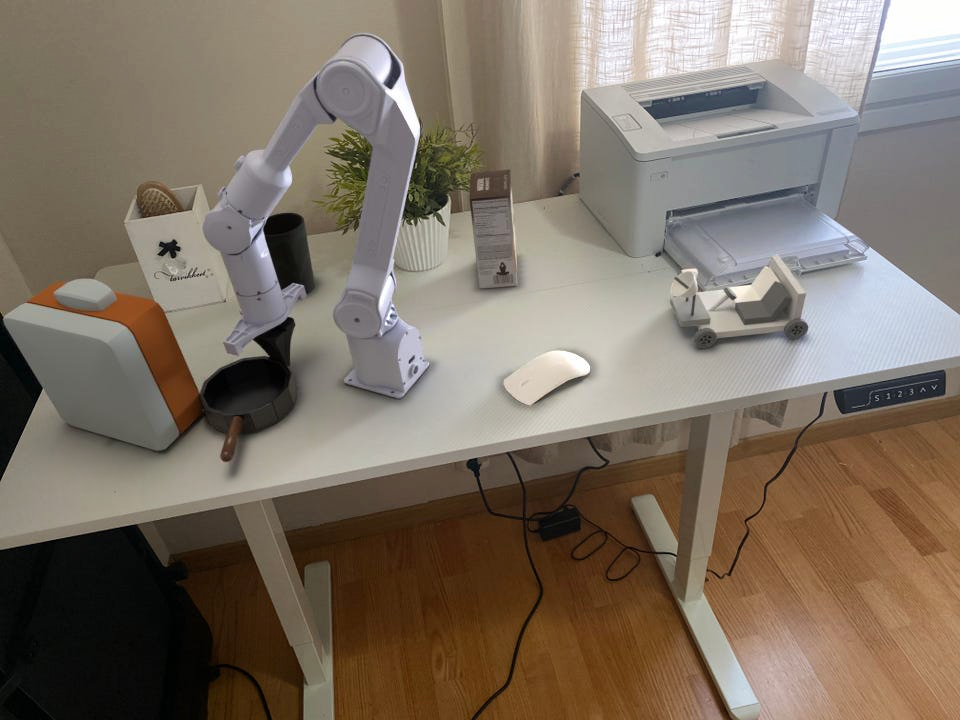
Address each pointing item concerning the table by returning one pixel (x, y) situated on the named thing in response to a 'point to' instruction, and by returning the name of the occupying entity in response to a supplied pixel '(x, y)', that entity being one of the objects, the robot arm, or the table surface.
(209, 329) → the table surface
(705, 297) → the toy cart
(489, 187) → the coffee box
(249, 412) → the pan
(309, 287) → the cup
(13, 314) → the alarm clock
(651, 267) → the table surface
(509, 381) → the computer mouse
